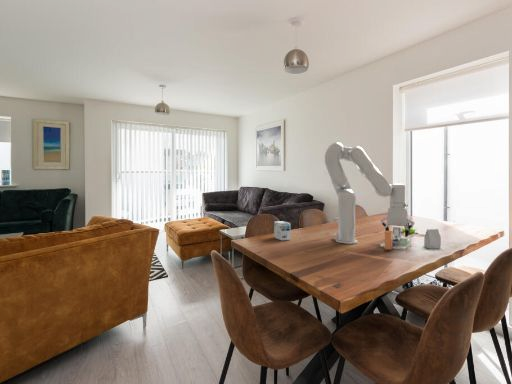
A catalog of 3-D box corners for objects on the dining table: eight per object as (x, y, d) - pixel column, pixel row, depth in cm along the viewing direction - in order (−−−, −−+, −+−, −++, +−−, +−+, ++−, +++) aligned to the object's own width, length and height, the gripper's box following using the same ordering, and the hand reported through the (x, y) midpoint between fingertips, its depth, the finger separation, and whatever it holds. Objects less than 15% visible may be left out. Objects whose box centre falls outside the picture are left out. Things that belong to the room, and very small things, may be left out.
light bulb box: (290, 240, 164) (291, 222, 163) (281, 240, 161) (281, 223, 161) (282, 236, 174) (283, 220, 173) (273, 237, 171) (273, 221, 171)
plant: (432, 241, 162) (433, 223, 162) (399, 240, 164) (399, 222, 164) (416, 235, 182) (416, 219, 182) (387, 234, 184) (387, 218, 184)
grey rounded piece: (389, 243, 150) (390, 227, 149) (392, 241, 154) (393, 226, 153) (400, 244, 146) (400, 228, 146) (403, 243, 150) (403, 227, 150)
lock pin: (384, 248, 136) (384, 231, 135) (391, 244, 146) (391, 228, 146) (390, 249, 134) (391, 232, 133) (397, 245, 144) (397, 228, 144)
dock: (380, 246, 145) (380, 240, 145) (387, 242, 157) (387, 236, 157) (404, 250, 138) (404, 243, 137) (410, 245, 149) (410, 239, 149)
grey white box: (440, 248, 143) (440, 229, 142) (429, 248, 142) (429, 230, 141) (434, 246, 146) (435, 228, 146) (424, 246, 145) (424, 228, 145)
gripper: (416, 206, 146) (415, 236, 147) (382, 204, 158) (382, 233, 158) (413, 206, 141) (412, 238, 141) (379, 205, 152) (378, 234, 152)
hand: (396, 235), depth 149 cm, fingers open, 9 cm apart
